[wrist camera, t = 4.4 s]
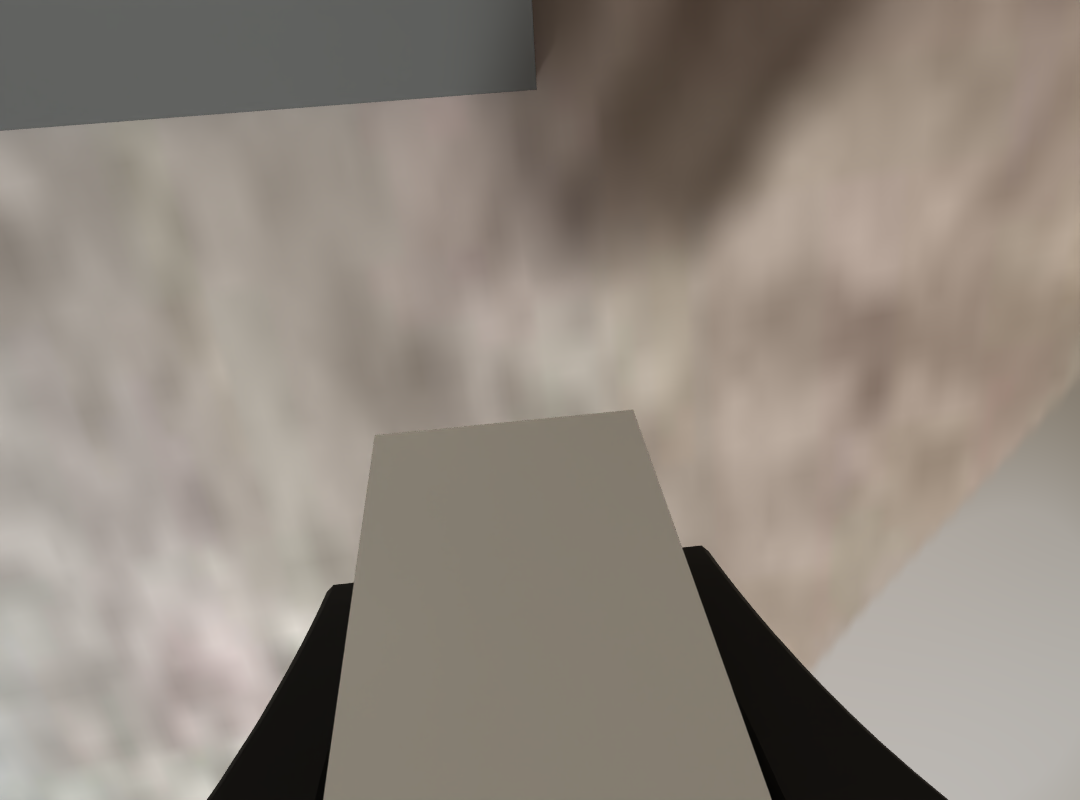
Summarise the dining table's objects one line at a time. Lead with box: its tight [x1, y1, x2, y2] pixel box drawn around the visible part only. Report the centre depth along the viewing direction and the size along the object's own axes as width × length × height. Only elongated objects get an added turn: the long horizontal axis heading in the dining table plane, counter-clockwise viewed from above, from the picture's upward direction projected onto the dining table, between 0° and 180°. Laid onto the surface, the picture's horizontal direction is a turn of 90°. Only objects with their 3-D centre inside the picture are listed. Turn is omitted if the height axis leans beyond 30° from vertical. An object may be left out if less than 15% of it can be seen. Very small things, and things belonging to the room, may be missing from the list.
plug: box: [323, 410, 772, 800], centre depth 10 cm, size 4×4×7 cm
